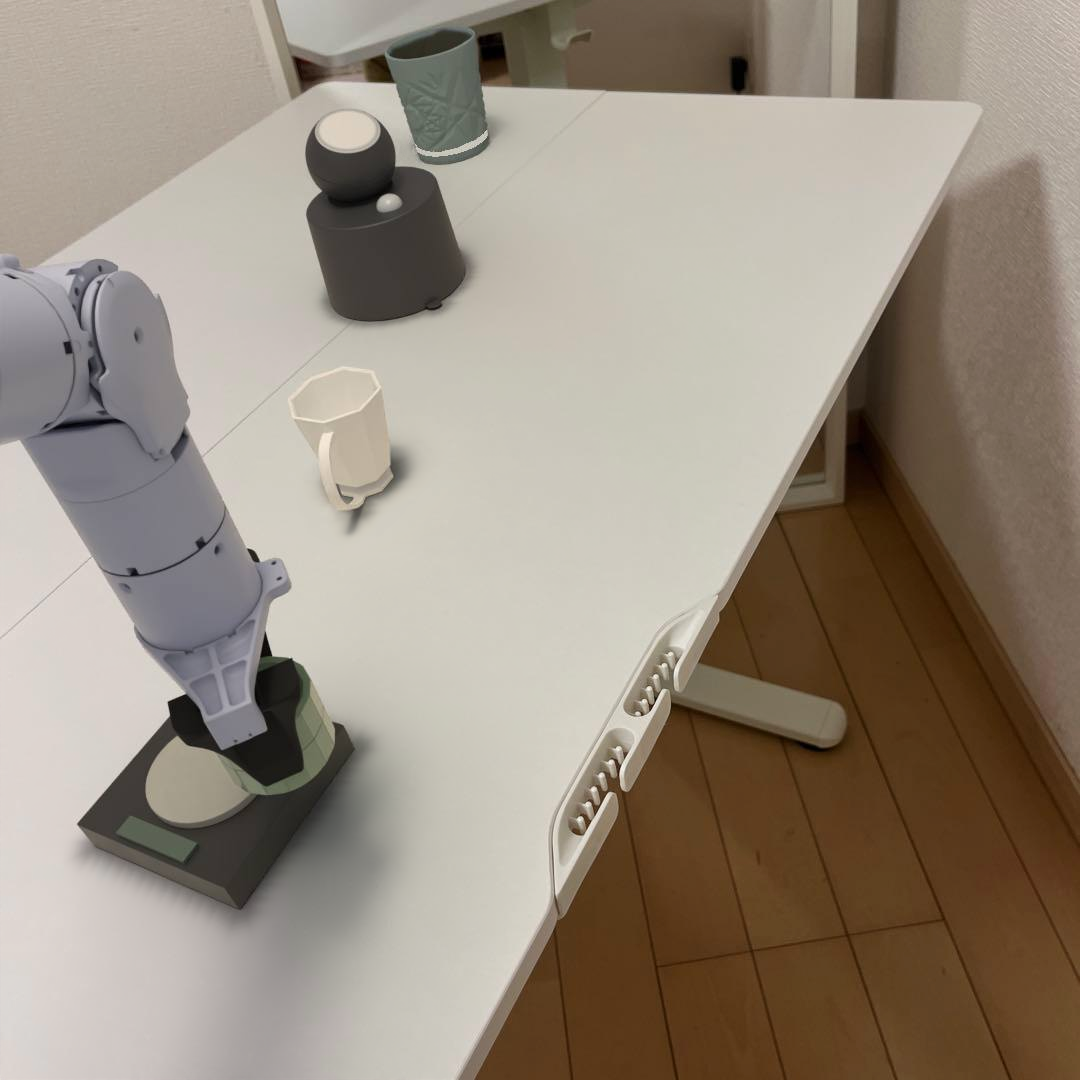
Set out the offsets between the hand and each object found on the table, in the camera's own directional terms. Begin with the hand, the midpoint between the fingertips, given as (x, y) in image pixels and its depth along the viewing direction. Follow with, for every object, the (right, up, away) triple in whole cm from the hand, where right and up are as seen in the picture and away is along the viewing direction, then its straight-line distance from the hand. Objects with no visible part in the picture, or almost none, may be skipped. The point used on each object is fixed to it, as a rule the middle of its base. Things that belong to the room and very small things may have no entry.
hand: (270, 729), depth 55 cm
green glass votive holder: (0, -2, +1) cm, 2 cm away
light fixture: (0, +34, +51) cm, 61 cm away
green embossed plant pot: (+4, +55, +73) cm, 92 cm away
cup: (0, +13, +27) cm, 30 cm away
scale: (-4, -5, +8) cm, 11 cm away
